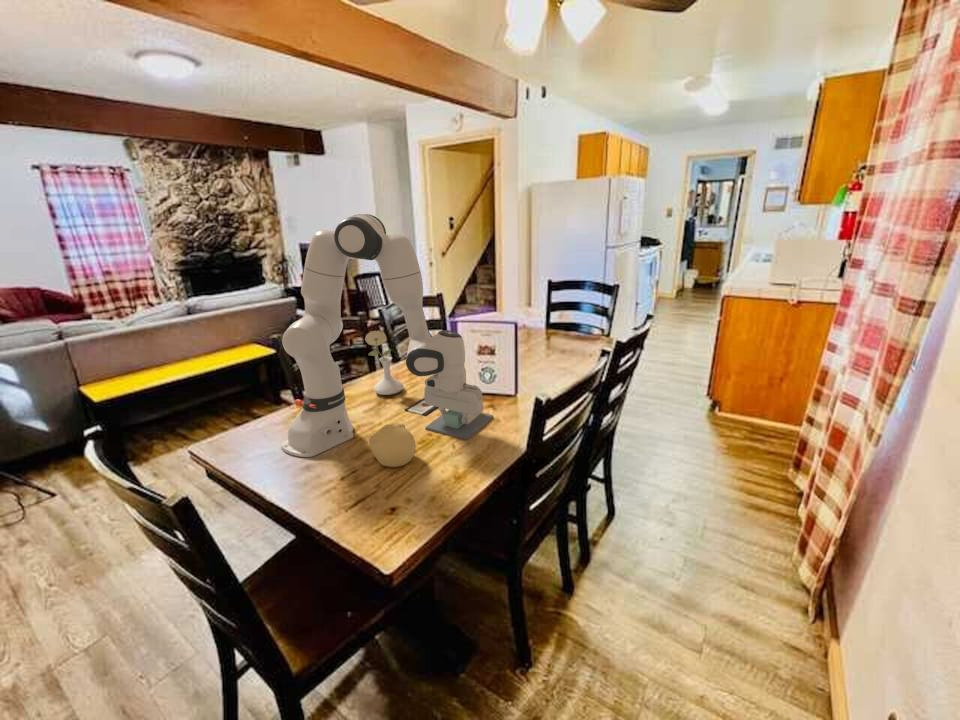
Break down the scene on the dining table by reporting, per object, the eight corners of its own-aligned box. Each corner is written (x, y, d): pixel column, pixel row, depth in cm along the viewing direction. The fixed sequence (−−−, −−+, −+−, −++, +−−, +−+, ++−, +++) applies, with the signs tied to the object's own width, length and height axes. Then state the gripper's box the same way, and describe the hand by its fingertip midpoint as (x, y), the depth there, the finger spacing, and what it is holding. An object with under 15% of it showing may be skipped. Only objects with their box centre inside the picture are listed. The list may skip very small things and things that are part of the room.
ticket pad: (468, 440, 135) (467, 424, 133) (425, 429, 142) (424, 414, 140) (493, 417, 149) (492, 403, 147) (453, 408, 156) (452, 395, 154)
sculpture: (397, 445, 133) (393, 413, 129) (424, 458, 125) (421, 425, 122) (366, 462, 124) (361, 428, 121) (393, 477, 117) (389, 441, 114)
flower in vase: (406, 386, 177) (401, 326, 169) (399, 397, 166) (393, 334, 158) (375, 385, 178) (368, 326, 170) (366, 397, 168) (358, 334, 159)
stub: (457, 428, 139) (457, 416, 138) (444, 425, 142) (444, 413, 140) (464, 423, 143) (463, 411, 141) (451, 420, 145) (450, 408, 143)
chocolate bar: (453, 395, 166) (425, 414, 151) (454, 398, 166) (425, 417, 151) (434, 391, 170) (404, 409, 155) (434, 393, 170) (405, 411, 156)
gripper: (486, 383, 135) (487, 423, 140) (431, 373, 144) (434, 411, 149) (476, 390, 130) (477, 432, 134) (420, 379, 139) (423, 418, 144)
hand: (454, 421), depth 142 cm, fingers closed on stub, 5 cm apart
